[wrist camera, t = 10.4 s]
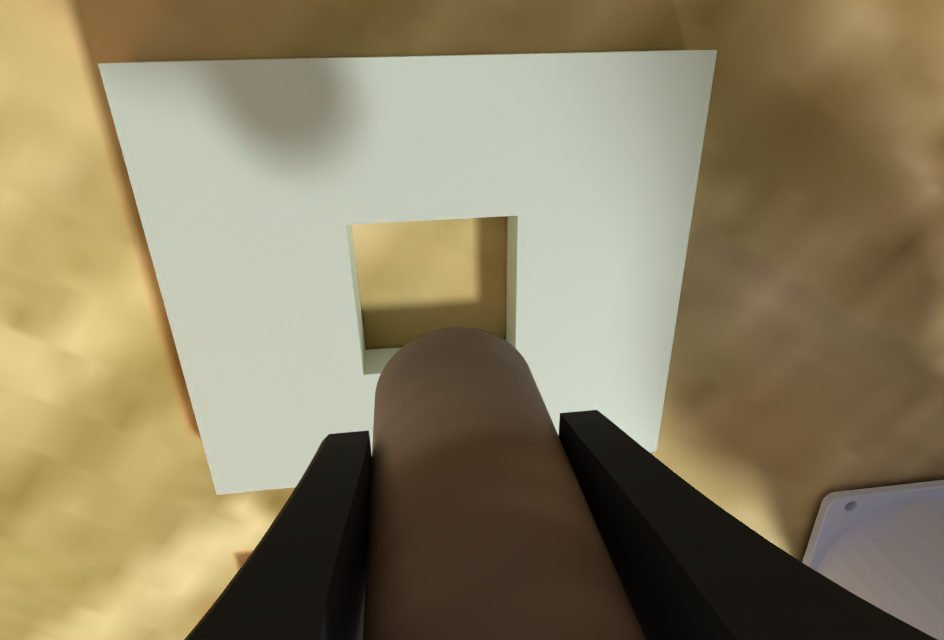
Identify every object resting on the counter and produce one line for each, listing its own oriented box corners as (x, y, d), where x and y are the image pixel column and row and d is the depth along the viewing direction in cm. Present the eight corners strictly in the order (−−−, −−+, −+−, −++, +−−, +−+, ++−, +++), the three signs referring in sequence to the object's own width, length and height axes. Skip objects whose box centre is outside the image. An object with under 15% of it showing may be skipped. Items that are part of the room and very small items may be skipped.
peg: (543, 328, 10) (708, 634, 5) (524, 461, 12) (640, 821, 6) (374, 326, 10) (353, 660, 4) (374, 465, 11) (358, 855, 6)
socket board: (688, 49, 15) (717, 50, 14) (638, 424, 20) (656, 451, 19) (126, 61, 14) (98, 63, 12) (229, 462, 19) (216, 494, 17)
